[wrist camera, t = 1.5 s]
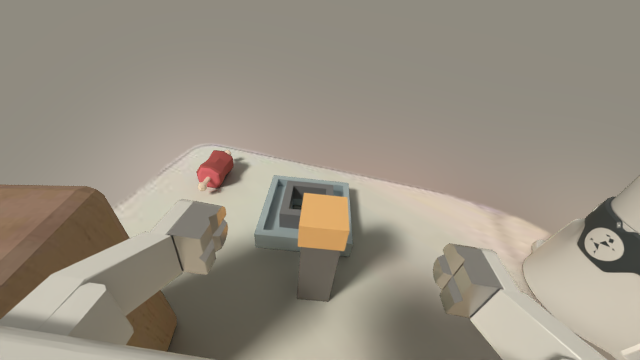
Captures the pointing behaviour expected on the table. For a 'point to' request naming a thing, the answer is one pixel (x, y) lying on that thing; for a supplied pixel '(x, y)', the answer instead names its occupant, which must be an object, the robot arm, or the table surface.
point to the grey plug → (320, 243)
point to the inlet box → (293, 211)
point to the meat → (214, 169)
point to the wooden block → (66, 249)
